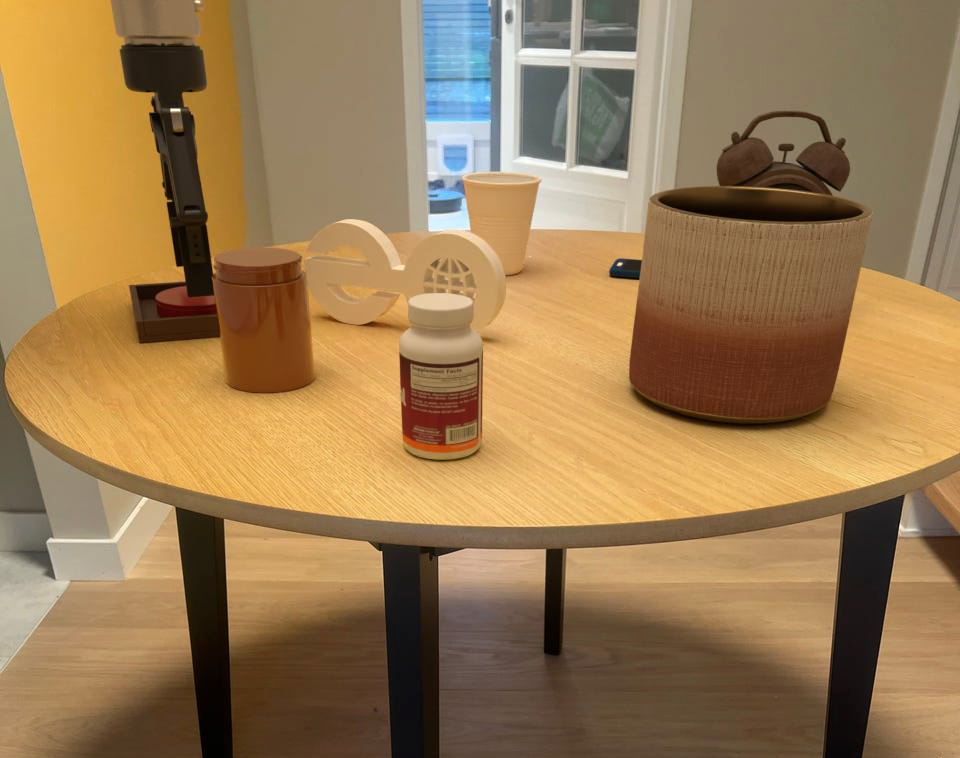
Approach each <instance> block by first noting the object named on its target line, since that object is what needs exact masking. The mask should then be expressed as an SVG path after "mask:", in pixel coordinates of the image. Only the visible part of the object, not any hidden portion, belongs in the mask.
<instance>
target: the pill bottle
mask: <svg viewBox="0 0 960 758" xmlns="http://www.w3.org/2000/svg"><path fill="white" fill-rule="evenodd" d="M473 318H474V309H473V300H472V299H470V298H469V297H466V296H462V295H457V294H449V293H448V292H447V293H429V294H422V295H417V296H414V297H412V298H410V299H409V301H408V303H407V319H408V322H409V324H411V327H409V328H408V329H406V330H405V331H404V332H403V333H402V334H401V336H400V339H399V343H398V345H399V346H398V356H399V384H400V385H399V388H400V393H399V394H400V395H399V396H400V409H401V410H400V412H401V413H400V414H401V436H402V437H401V438H402V443H403V446H404V448H405V449H406V451H408V452H409V453H410V454H412V455H414V456H416V457H419V458H423V459H429V460H435V461H436V460H438V461H439V460H440V461H441V460H442V461H444V460H445V461H447V460H448V461H449V460H457V459H461V458H465V457H468V456H471V455H472V454H474V453H475V452H476V451H478V449H479V448H480V447H481V445H482V441H483V440H482V439H483V397H484V395H483V394H484V393H483V392H484V391H483V390H484V388H483V387H484V386H483V385H484V343H483V339H482V337H481V335H480V334H479V332H477V331H475V330H474V329H473V328H471V327H470V324H471V323H472V321H473Z"/></svg>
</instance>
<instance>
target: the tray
mask: <svg viewBox="0 0 960 758" xmlns="http://www.w3.org/2000/svg"><path fill="white" fill-rule="evenodd" d="M182 286H186V281H172V282H171V281H170V282H156V283H155V282H154V283H140V284H128V288H129V293H130V299H131V304H132V310H133V315H134V320H135V326H136V331H137V336H138V342H139V343H140V344H145V343H159V342H171V341H182V340H197V339H209V338H220V334H219V327H218V320H217V314H213V315H199V316H185V317H171V318H161V317H160V316H158V313H157V307H156V295H157V294H158V293H160V292H162V291H164V290H168V289H171V288H176V287H182Z"/></svg>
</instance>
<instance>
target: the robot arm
mask: <svg viewBox="0 0 960 758" xmlns="http://www.w3.org/2000/svg"><path fill="white" fill-rule="evenodd" d="M110 5H111V6H110V7H111V11H112V16H113V18H112V19H113V23H114V29H115V30H114V31H115V34H116V35H117V36H118V37H119V38H123V41H124V44H122V45H120V48H119V56H120V61H121V67H122V73H123V79H124V85H125V88H127V89H128V90H129V91H131V92H136V93H147V94H148V93H149V94H151V93H154V96H153V95H152V96H151V100H150V105H151V107H152V109H153V111H151V112H150V111H149V112H148V117H149V125H150V129H151V132H152V133H153V137H154V143H155V148H156V152H157V153H158V154H159V160H160V167H161V168H160V169H161V176H162V182H161V185H162V188H163V190H164V197H165V199H166V202H165V203H166V209H167V214H168V221H169V229H170V234H171V241H172V248H173V254H174V260H175V261H174V262H175V266H176V268H183V274H184V280H185V281H186V288H187V295H188V297H200V296H214V290H213V283H212V275H213V274H214V268H213V262H212V254H211V248H210V247H211V246H210V240H209V233H208V226H207V223H208V219H209V214H208V211H206V205H205V198H204V193H203V187H202V182H201V176H200V175H201V174H200V169H199V164H198V148H197V147H198V146H197V140H196V122H195V121H196V120H195V116H194V114H192V111H191V110H190V108H189V106H185V102H184V98H183V97H184V96H183V94H184V93H199V92H203V91H204V90H205V91H206V89H207V87H208V80H207V73H206V63H205V55H204V49H201V46H200V45H196V44H195V39H199V37H200V36H201V30H200V21H199V17H198V15H197V13H202V12H203V11H204V10H205V7H204V2H203V1H202V0H110ZM185 281H184V282H185Z"/></svg>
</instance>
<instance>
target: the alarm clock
mask: <svg viewBox="0 0 960 758" xmlns="http://www.w3.org/2000/svg"><path fill="white" fill-rule="evenodd" d="M774 118H801V119H802V118H803V119H807V120H810V121H813V122H815V123H816V124H817V125H818V127H819V130H820V132H821V135H822V138H823V141H816V142H812V143H810V144H809V145H808V146H807V147H805V148H804V149H803V150H802V151H801V153H799V154H798V156H797V157H796V158H795V162H797V164H796V163H792V162H786V159H787V155H788V152H792V151H793V152H794V150H795V144H793V143H780V144H779V145H778V147H777V149H778V151H779V152H783V155H782V161H778V160H774V159H775V158H774V155H773V153H772V151H771V150H770V147H769V146H768V144H766V142H765V140H763V139H761V138H759V137H754V136H751V134H752V133H753V131H754V130H755V129H756V128H757V126H758V125H759V124H761V122H764V121H765V122H766V121H768V120H771V119H774ZM750 136H751V137H750ZM730 139H731V142H732V143H731V144H729V145H727V146H725V147H724V148H722V149H721V151H722V152H721V154H720V156H719V157H718V159H717V162H716V163H717V164H716V178H717V182H718V186H747V187H766V188H779V189H790V190H799V191H807V192H814V193H820V194H826V195H831V196H834V195H833V193H832V192H831V191H832V190H830V189H829V187H830V188H832V189H834V190H835V191H837V192H839V193H840V192H842V190H843V188H844V187H845V185H846V183H847V181H848V179H849V176H850V174H851V164H850V160H849V157H848V156H847V155H846V154H845V153H846V152H845V150H843V148H844V146H845V145H846V142H847V139H846V138H845V137H840V138H838V139H837V141H836V142H835V143H834V142H833V141H832V137H831V134H830V131H829V128H828V125H827V123H826V121H825V120H824V118H822V116H819V115H817V114H814V113H810V112H807V111H802V110H801V111H800V110H772V111H769V112H765V113H762V114H759V115H757V116H756V117H754V118H752V119H751V121H750V123H749V124H748V126H746V128H745V129H744V131H743V133H742V134H741V135H740V133H739V132H737V131H733V132H732V133H731V135H730ZM798 164H799V165H798Z"/></svg>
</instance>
